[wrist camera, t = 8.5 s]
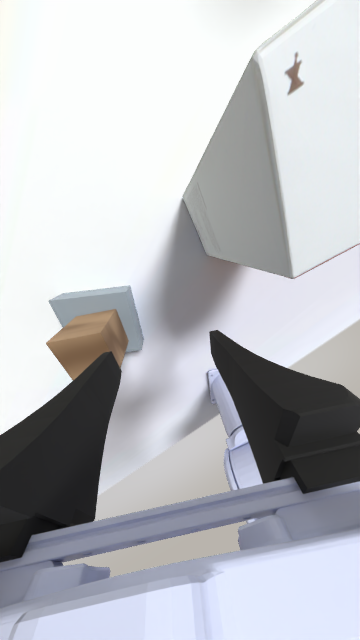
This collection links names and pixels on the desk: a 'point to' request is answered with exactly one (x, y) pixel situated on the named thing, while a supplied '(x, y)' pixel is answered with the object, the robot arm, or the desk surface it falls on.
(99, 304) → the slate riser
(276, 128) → the small box
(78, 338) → the walnut block
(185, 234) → the desk surface
